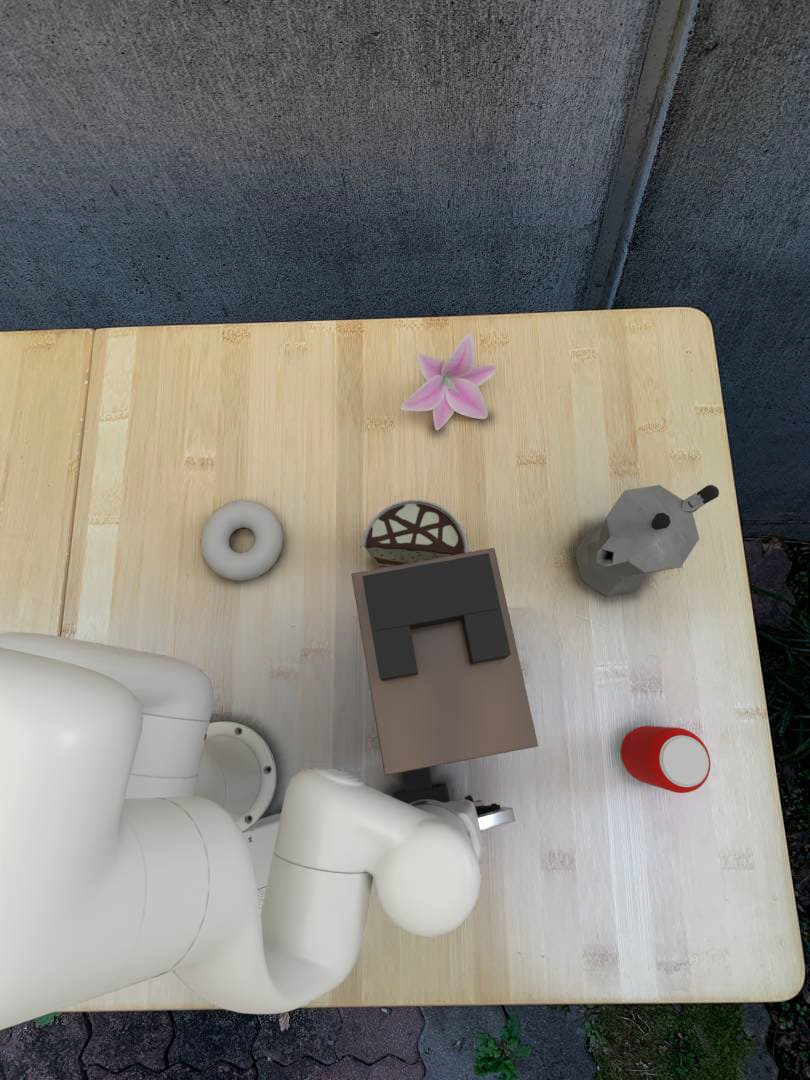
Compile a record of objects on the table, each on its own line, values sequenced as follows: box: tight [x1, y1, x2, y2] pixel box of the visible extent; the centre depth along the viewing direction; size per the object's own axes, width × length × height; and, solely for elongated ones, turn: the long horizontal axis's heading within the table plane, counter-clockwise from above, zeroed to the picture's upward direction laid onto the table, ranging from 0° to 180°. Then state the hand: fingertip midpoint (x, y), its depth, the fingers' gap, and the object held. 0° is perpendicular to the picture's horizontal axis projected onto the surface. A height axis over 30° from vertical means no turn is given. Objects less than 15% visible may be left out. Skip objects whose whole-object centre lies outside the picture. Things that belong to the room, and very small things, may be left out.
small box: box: [242, 812, 281, 891], centre depth 71 cm, size 8×6×10 cm
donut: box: [200, 500, 284, 581], centre depth 83 cm, size 10×4×10 cm
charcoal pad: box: [392, 767, 450, 804], centre depth 75 cm, size 6×9×3 cm, turn 10°
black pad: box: [363, 553, 511, 681], centre depth 53 cm, size 10×8×3 cm
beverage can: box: [620, 725, 711, 794], centre depth 72 cm, size 6×6×12 cm
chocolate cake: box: [359, 499, 471, 567], centre depth 79 cm, size 12×6×10 cm, turn 84°
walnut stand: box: [351, 547, 539, 776], centre depth 67 cm, size 12×16×27 cm
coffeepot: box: [574, 484, 720, 598], centre depth 75 cm, size 15×9×18 cm, turn 121°
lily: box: [399, 332, 499, 431], centre depth 85 cm, size 12×12×10 cm
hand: (427, 818), depth 75 cm, fingers open, 9 cm apart
